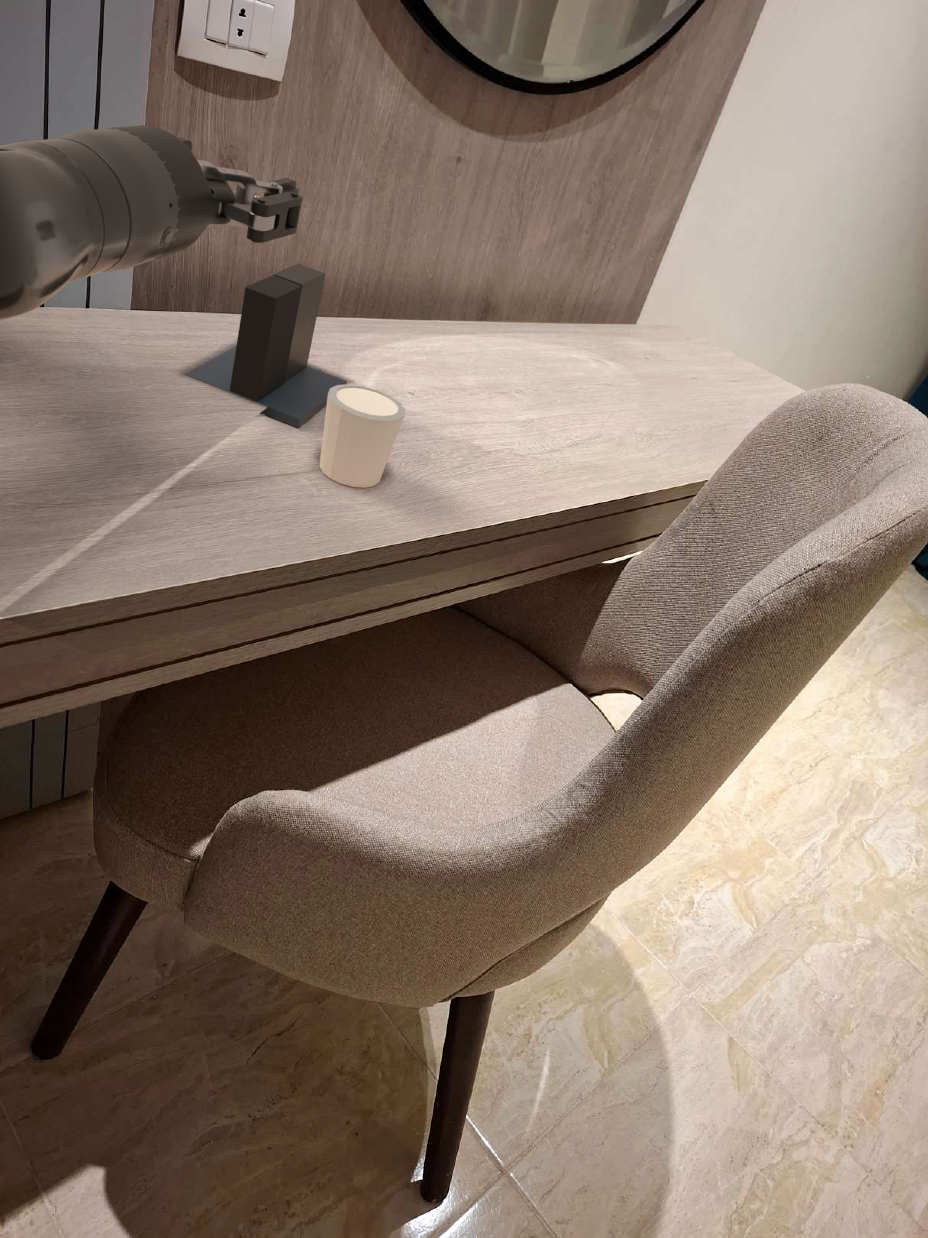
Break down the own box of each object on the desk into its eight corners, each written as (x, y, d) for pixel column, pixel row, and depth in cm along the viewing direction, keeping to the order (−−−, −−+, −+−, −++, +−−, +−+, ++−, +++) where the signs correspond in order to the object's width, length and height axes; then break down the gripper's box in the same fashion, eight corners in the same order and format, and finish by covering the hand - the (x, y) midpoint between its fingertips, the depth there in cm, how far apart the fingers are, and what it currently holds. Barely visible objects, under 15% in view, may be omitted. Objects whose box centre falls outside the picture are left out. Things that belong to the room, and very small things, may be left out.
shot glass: (401, 480, 83) (421, 411, 80) (354, 498, 78) (373, 425, 74) (345, 446, 86) (362, 378, 82) (296, 462, 80) (311, 389, 77)
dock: (182, 383, 87) (197, 268, 80) (242, 349, 97) (259, 246, 91) (298, 428, 86) (321, 315, 80) (345, 389, 97) (368, 288, 91)
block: (229, 390, 86) (245, 286, 80) (256, 373, 91) (273, 274, 85) (258, 401, 86) (276, 298, 80) (283, 384, 91) (302, 285, 85)
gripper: (236, 174, 52) (335, 153, 66) (13, 89, 53) (157, 85, 66) (218, 301, 57) (315, 256, 70) (11, 220, 57) (147, 192, 71)
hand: (238, 173), depth 68 cm, fingers open, 8 cm apart
